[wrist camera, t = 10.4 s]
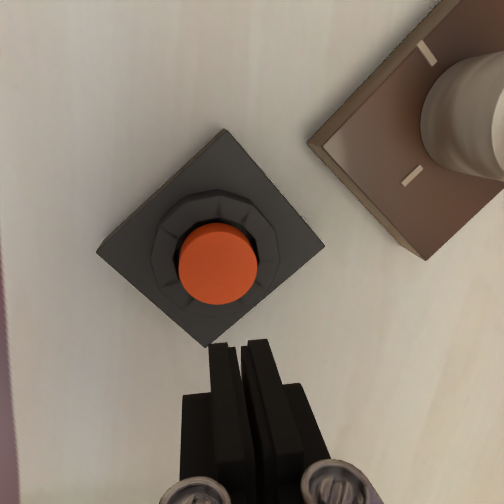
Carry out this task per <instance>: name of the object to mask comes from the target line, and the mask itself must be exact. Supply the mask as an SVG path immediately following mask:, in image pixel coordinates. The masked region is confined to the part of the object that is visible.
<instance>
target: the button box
mask: <svg viewBox="0 0 504 504" xmlns="http://www.w3.org/2000/svg"><path fill="white" fill-rule="evenodd" d="M210 223H224V224H228V225H231V226H233V227H235V228H237V229H238V230H240V231H241V232H242V233H243V234H244V235H245V236H246V237H247V239H248V241H249V242H250V245H251V247H252V249H253V251H254V254H255V256H256V260H257V274H256V278H255V280H254V283H253V284H252V286H251V288H250V289H249V290H248V291H247V292H246V293H245V294H244V295H243V296H242V297H240V298H239V299H237V300H235V301H233V302H230V303H227V304H219V305H215V304H207V303H204V302H201V301H199V300H197V299H195V298H194V297H193V296H191V295H190V294H189V293H188V292H187V291H186V289H185V288H184V287H183V285H182V283H181V280H180V277H179V258H180V251H181V247H182V245H183V243H184V241H185V239H186V238H187V236H188V235H189V234H190V233H191V232H193V231H194V230H195V229H197V228H199V227H201V226H203V225H206V224H210ZM324 247H325V245H324V244H323V242H322V241H321V240H320V239H319V238H318V236H317V235H316V234H315V233H314V232H313V231H312V229H311V228H310V227H309V226H308V225H307V223H306V222H305V221H304V220H303V219H302V218H301V216H300V215H299V214H298V213H297V212H296V210H295V209H294V208H293V207H292V206H291V205H290V203H289V202H288V201H287V200H286V199H285V197H284V196H283V195H282V194H281V193H280V192H279V190H278V189H277V188H276V187H275V186H274V184H273V183H272V182H271V181H270V180H269V179H268V177H267V176H266V175H265V174H264V173H263V171H262V170H261V169H260V168H259V167H258V166H257V164H256V163H255V162H254V161H253V160H252V158H251V157H250V156H249V155H248V154H247V153H246V151H245V150H244V149H243V148H242V147H241V145H240V144H239V143H238V142H237V141H236V140H235V138H234V137H233V136H232V135H231V134H230V132H229V131H227V130H225V129H223V130H222V131H221V132H220V133H219V134H218V135H217V136H216V137H215V138H213V139H212V140H211V141H210V142H209V143H208V144H207V145H206V146H205V147H204V148H203V149H202V150H201V151H199V152H198V153H197V154H196V155H195V156H194V157H193V158H192V159H191V160H190V161H189V162H188V163H187V164H185V165H184V166H183V167H182V168H181V169H180V170H179V171H178V172H177V173H176V174H175V175H174V176H172V177H171V178H170V179H169V180H168V181H167V182H166V183H165V184H164V185H163V186H162V187H161V188H160V189H158V190H157V191H156V192H155V193H154V194H153V195H152V196H151V197H150V198H149V199H148V200H147V201H146V202H144V203H143V204H142V205H141V206H140V207H139V208H138V209H137V210H136V211H135V212H134V213H133V214H132V215H130V216H129V217H128V218H127V219H126V220H125V221H124V222H123V223H122V224H121V225H120V226H119V227H118V228H116V229H115V230H114V231H113V232H112V233H111V234H110V235H109V236H108V237H107V238H106V239H105V240H104V241H103V242H102V243H101V245H100V246H99V248H98V249H97V251H96V253H97V254H98V255H99V256H100V257H101V258H103V259H104V260H105V261H106V262H107V263H108V264H109V265H111V266H112V267H113V268H114V269H115V270H116V271H117V272H119V273H120V274H121V275H122V276H123V277H124V278H125V279H127V280H128V281H129V282H130V283H131V284H132V285H133V286H135V287H136V288H137V289H138V290H139V291H140V292H141V293H143V294H144V295H145V296H146V297H147V298H148V299H149V300H151V301H152V302H153V303H154V304H155V305H156V306H157V307H159V308H160V309H161V310H162V311H163V312H164V313H165V314H167V315H168V316H169V317H170V318H171V319H172V320H173V321H175V322H176V323H177V324H178V325H179V326H180V327H181V328H183V329H184V330H185V331H186V332H187V333H188V334H189V335H191V336H192V337H193V338H194V339H195V340H196V341H197V342H199V343H200V344H201V345H202V346H203V347H204V348H206V347H207V346H208V344H211V343H212V342H213V341H214V340H215V339H217V338H218V337H219V336H220V335H221V334H223V333H224V332H225V331H226V330H227V329H228V328H230V327H231V326H232V325H233V324H234V323H236V322H237V321H238V320H239V319H240V318H241V317H243V316H244V315H245V314H246V313H247V312H249V311H250V310H251V309H252V308H253V307H254V306H256V305H257V304H258V303H259V302H260V301H261V300H263V299H264V298H265V297H266V296H267V295H269V294H270V293H271V292H272V291H273V290H274V289H276V288H277V287H278V286H279V285H280V284H282V283H283V282H284V281H285V280H286V279H287V278H289V277H290V276H291V275H292V274H293V273H295V272H296V271H297V270H298V269H299V268H300V267H302V266H303V265H304V264H305V263H306V262H308V261H309V260H310V259H311V258H312V257H313V256H315V255H316V254H317V253H318V252H319V251H320V250H322V249H323V248H324Z"/></svg>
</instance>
